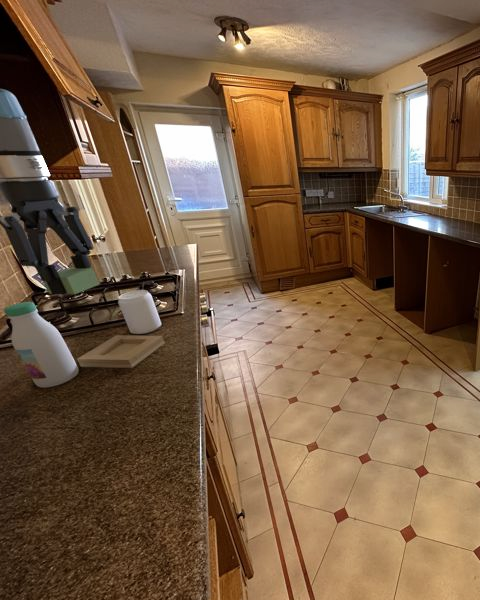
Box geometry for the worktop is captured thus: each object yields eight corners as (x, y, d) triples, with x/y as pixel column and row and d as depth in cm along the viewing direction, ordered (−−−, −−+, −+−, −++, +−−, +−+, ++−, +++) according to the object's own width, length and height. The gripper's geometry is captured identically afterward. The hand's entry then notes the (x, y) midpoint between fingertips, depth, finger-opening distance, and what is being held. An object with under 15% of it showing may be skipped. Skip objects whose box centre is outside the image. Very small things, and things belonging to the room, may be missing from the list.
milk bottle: (79, 365, 84) (43, 295, 76) (80, 378, 79) (42, 305, 71) (37, 378, 80) (-6, 305, 71) (36, 393, 74) (-11, 316, 66)
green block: (49, 294, 71) (40, 276, 69) (76, 284, 76) (68, 267, 74) (74, 294, 70) (66, 277, 69) (99, 284, 76) (92, 268, 74)
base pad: (80, 366, 84) (76, 358, 83) (119, 342, 95) (116, 335, 94) (132, 368, 83) (128, 360, 82) (165, 343, 94) (162, 335, 93)
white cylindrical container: (150, 335, 98) (136, 299, 93) (124, 335, 98) (109, 300, 93) (167, 323, 105) (156, 289, 101) (143, 323, 106) (130, 289, 101)
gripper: (-18, 183, 55) (45, 306, 64) (88, 176, 72) (125, 274, 81) (-58, 183, 55) (11, 305, 65) (57, 176, 72) (97, 273, 82)
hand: (74, 287), depth 73 cm, fingers closed on green block, 6 cm apart
